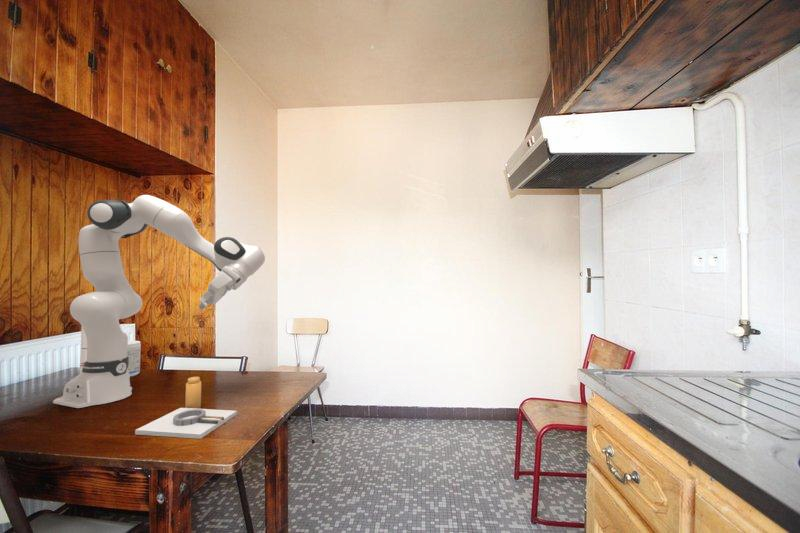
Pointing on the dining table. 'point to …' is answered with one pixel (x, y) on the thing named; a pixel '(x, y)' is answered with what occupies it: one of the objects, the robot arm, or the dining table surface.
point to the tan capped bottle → (193, 393)
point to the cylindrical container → (83, 349)
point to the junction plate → (184, 430)
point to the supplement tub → (134, 357)
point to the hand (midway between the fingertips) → (200, 305)
